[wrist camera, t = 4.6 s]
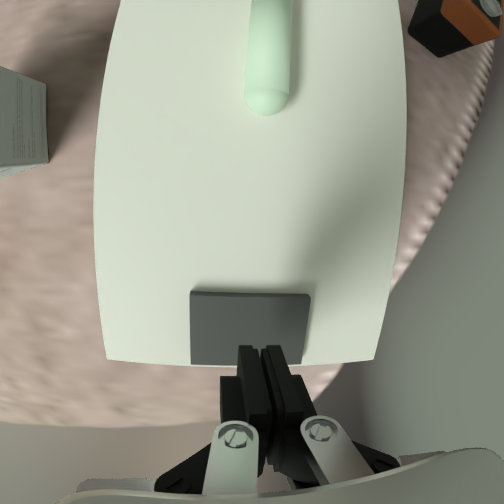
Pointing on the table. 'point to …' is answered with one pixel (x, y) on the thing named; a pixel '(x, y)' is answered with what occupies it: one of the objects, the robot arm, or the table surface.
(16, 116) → the supplement box
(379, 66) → the level plate
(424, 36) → the battery
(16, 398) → the table surface
